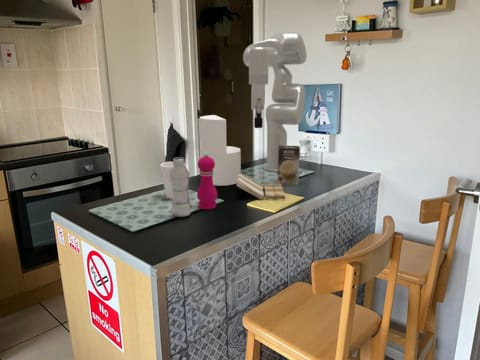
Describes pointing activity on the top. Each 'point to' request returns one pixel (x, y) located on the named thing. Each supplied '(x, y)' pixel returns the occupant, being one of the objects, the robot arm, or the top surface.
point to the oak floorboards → (274, 191)
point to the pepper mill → (206, 183)
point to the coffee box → (288, 165)
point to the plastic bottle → (180, 188)
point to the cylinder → (219, 150)
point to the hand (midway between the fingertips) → (258, 127)
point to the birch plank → (250, 185)
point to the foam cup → (167, 178)
